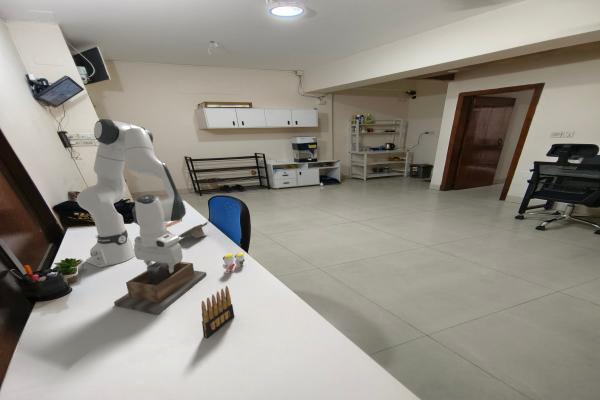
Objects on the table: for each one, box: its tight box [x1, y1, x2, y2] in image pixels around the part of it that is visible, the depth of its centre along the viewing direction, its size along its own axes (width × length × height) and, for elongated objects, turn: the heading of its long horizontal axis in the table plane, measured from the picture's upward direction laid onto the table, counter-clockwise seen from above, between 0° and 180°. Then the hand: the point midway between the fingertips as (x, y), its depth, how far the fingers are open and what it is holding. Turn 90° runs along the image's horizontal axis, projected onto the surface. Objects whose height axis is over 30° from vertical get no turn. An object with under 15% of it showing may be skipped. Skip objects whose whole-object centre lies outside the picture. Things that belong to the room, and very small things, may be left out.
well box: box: [113, 261, 207, 316], centre depth 100 cm, size 20×26×8 cm
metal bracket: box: [146, 262, 174, 286], centre depth 100 cm, size 8×8×10 cm
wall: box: [177, 221, 210, 239], centre depth 152 cm, size 19×10×17 cm
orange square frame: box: [165, 218, 183, 229], centre depth 182 cm, size 16×16×2 cm
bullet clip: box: [201, 285, 235, 339], centre depth 78 cm, size 11×2×12 cm, turn 147°
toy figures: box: [222, 252, 246, 274], centre depth 114 cm, size 12×4×8 cm, turn 144°
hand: (161, 270), depth 99 cm, fingers open, 8 cm apart
